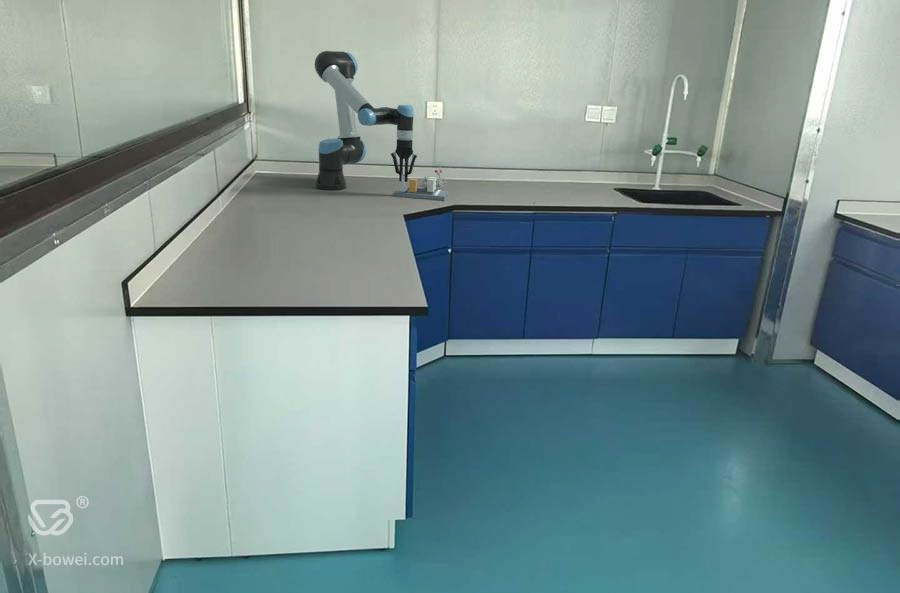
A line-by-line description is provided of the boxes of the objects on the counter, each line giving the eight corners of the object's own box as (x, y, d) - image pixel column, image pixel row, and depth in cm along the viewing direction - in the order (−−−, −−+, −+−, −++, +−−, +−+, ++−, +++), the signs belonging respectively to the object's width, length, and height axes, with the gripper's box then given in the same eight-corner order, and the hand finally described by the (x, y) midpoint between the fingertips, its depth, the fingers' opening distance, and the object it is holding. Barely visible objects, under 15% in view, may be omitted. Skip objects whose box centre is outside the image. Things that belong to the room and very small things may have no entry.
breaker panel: (395, 196, 307) (396, 179, 304) (401, 190, 320) (402, 174, 317) (444, 200, 305) (445, 183, 302) (448, 194, 318) (449, 178, 315)
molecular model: (436, 194, 320) (436, 174, 316) (419, 192, 324) (418, 173, 320) (453, 186, 336) (453, 168, 332) (436, 185, 340) (436, 166, 336)
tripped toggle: (409, 192, 307) (409, 179, 305) (410, 190, 310) (411, 178, 308) (415, 192, 307) (415, 180, 305) (416, 191, 310) (417, 179, 307)
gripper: (389, 138, 297) (388, 188, 306) (416, 141, 296) (414, 190, 304) (393, 137, 304) (391, 185, 312) (419, 139, 303) (417, 187, 311)
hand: (403, 188), depth 308 cm, fingers closed
